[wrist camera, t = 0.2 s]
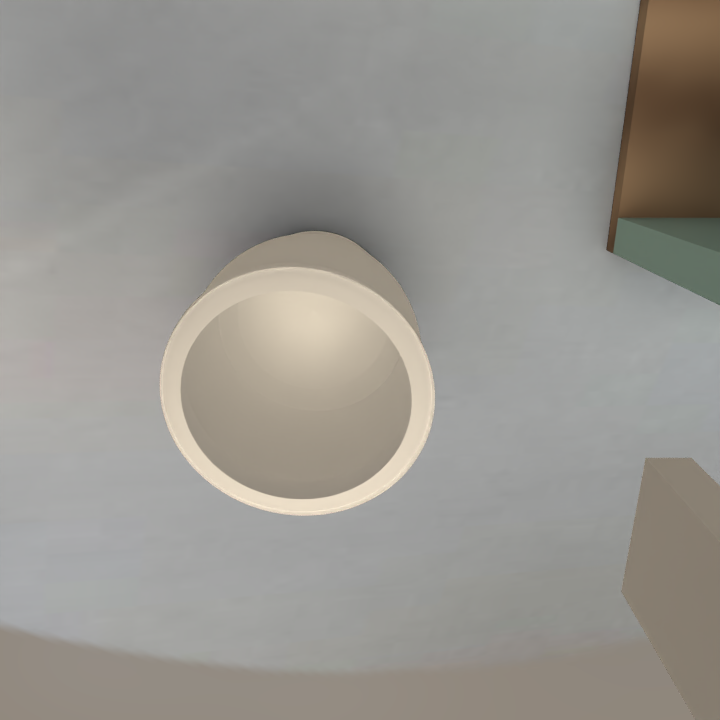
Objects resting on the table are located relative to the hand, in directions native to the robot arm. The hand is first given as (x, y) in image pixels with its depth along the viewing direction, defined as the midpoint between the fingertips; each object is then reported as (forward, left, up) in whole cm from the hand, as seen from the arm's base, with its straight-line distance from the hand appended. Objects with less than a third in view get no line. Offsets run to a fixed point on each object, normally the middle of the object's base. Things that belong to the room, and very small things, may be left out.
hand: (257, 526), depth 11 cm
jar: (+3, 0, -28) cm, 28 cm away
